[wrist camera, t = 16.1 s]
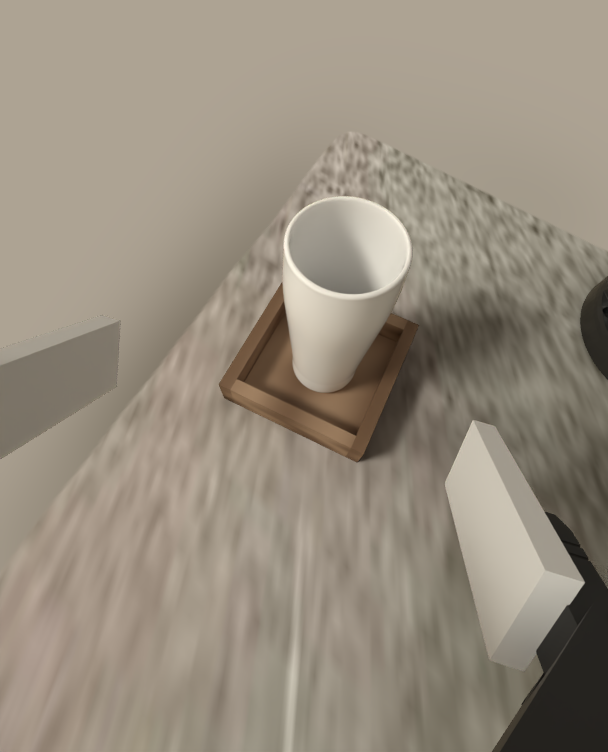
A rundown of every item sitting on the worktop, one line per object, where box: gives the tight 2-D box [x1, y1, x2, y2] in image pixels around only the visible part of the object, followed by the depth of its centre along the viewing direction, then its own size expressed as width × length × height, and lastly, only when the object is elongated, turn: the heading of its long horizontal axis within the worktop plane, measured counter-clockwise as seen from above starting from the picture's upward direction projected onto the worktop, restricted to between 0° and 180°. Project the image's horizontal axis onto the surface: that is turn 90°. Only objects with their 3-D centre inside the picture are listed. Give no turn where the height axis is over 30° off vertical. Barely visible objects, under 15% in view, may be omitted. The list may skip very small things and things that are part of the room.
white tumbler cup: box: [282, 196, 413, 393], centre depth 28 cm, size 7×7×15 cm
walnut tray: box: [219, 282, 419, 462], centre depth 34 cm, size 12×12×3 cm
